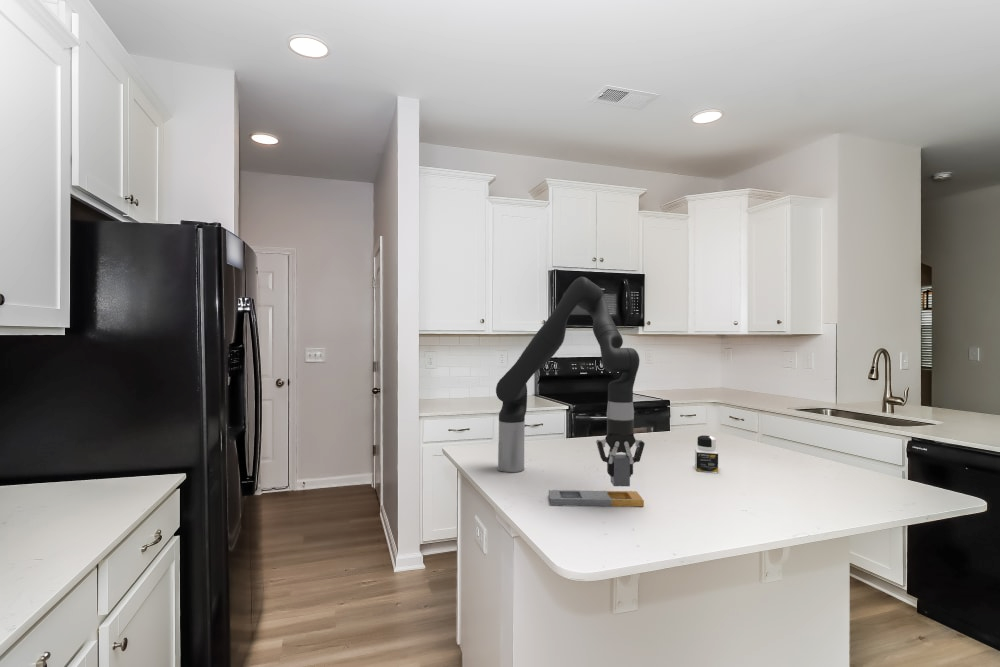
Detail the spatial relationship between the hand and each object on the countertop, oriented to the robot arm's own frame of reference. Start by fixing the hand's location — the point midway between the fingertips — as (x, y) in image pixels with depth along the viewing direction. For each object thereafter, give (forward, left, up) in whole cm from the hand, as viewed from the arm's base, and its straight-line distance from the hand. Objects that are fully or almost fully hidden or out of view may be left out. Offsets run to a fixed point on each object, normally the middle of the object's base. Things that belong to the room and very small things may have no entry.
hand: (620, 475), depth 145 cm
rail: (-7, 0, -7) cm, 10 cm away
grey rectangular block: (0, 0, -2) cm, 2 cm away
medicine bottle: (+39, +36, -8) cm, 53 cm away
